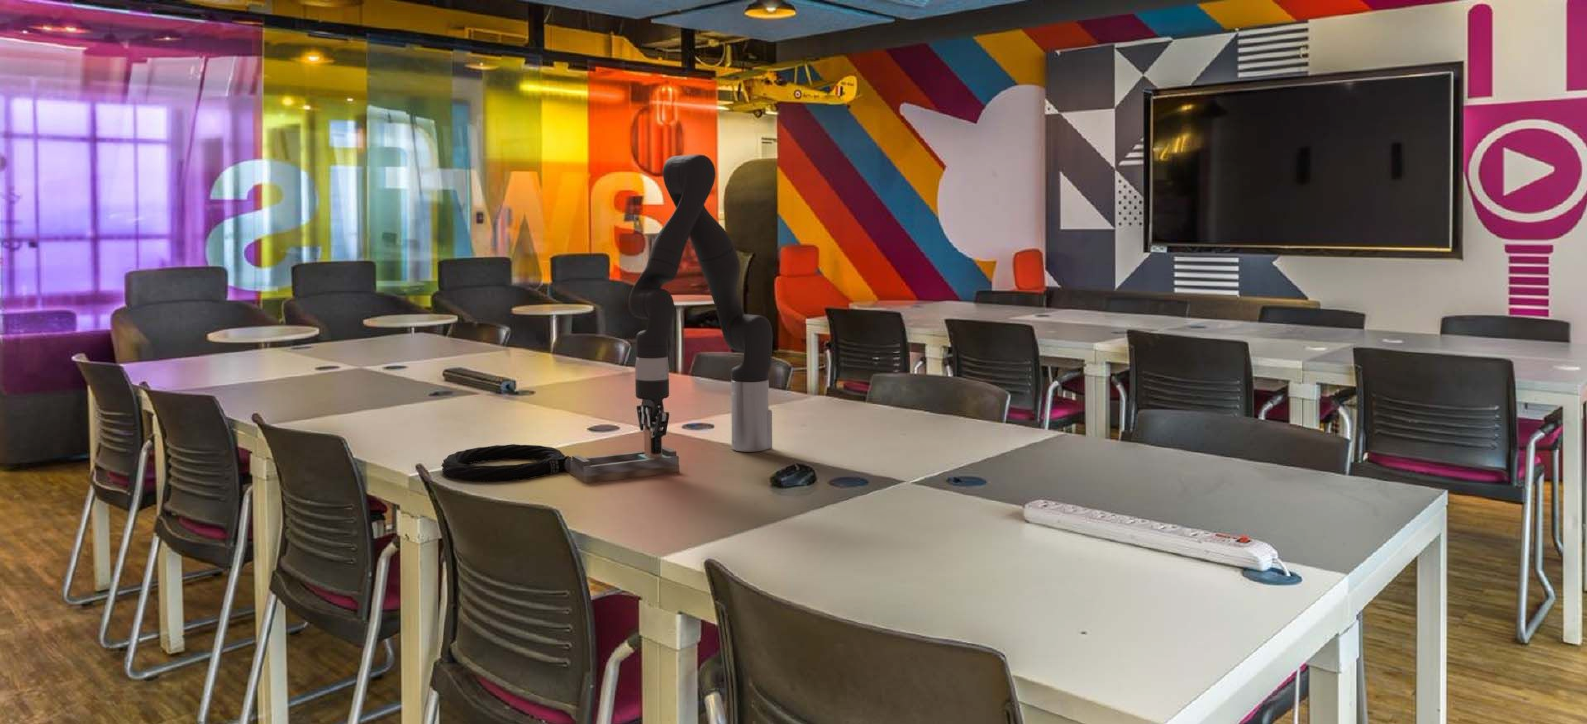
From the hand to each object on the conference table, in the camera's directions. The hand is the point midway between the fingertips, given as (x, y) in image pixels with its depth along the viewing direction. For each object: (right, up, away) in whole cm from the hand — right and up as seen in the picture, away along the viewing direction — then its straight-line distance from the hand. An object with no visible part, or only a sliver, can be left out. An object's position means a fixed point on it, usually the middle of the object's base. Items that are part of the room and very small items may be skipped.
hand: (653, 451), depth 260 cm
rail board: (-6, -5, -3) cm, 8 cm away
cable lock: (-33, -5, +2) cm, 33 cm away
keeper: (0, -3, 0) cm, 3 cm away
